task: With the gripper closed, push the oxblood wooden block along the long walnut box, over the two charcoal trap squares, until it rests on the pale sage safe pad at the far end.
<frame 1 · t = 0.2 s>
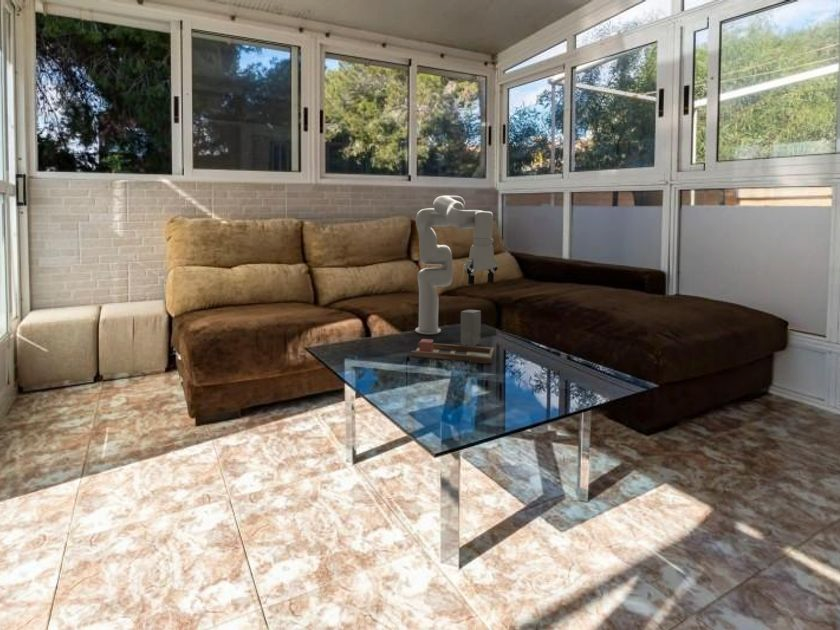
hand: (480, 283, 230), 31 cm above the table, tool pointing down, fingers open, 9 cm apart
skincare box: (469, 345, 254), on the table
trap box: (451, 355, 237), on the table
oxblood block: (426, 352, 239), point 1 cm above the table, touching trap box
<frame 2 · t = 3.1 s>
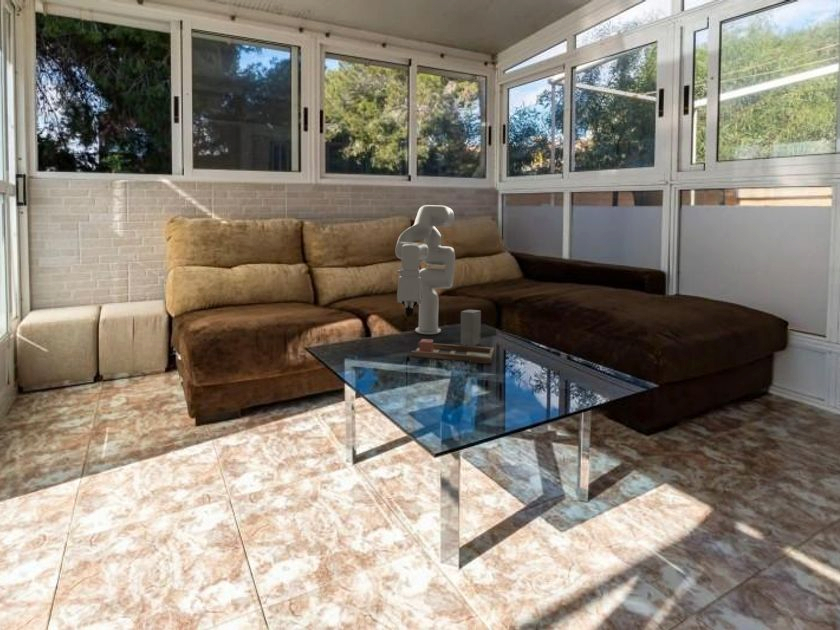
hand: (409, 316, 236), 16 cm above the table, tool pointing down, fingers closed
nothing on the table moved.
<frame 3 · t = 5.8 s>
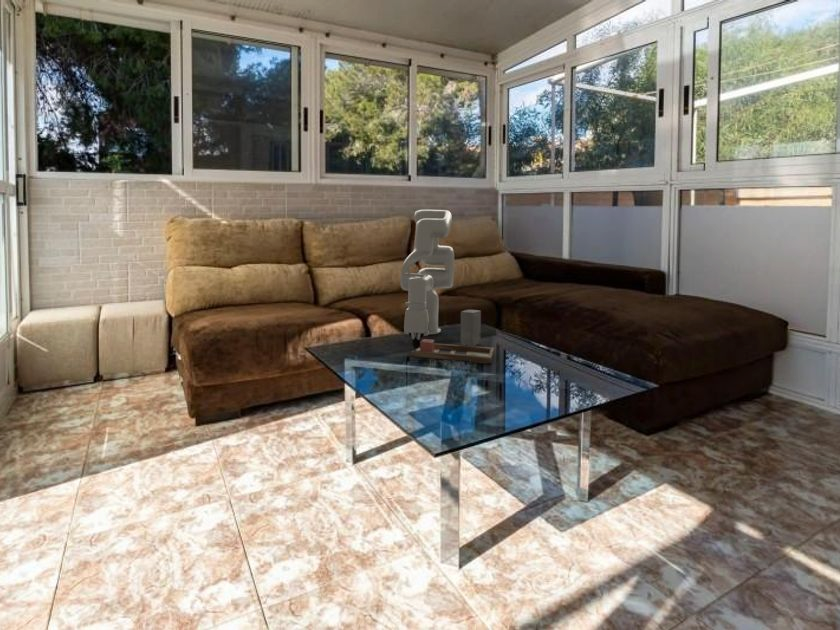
hand: (416, 347, 239), 2 cm above the table, tool pointing down, fingers closed
oxblood block: (427, 352, 238), point 1 cm above the table, touching gripper, trap box
everything else where it was.
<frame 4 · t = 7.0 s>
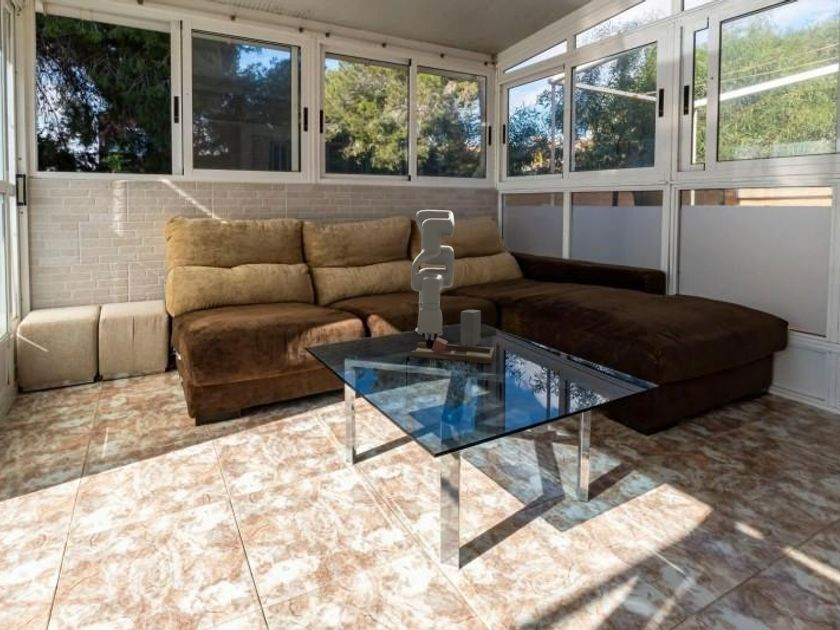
hand: (429, 348, 237), 3 cm above the table, tool pointing down, fingers closed
oxblood block: (437, 351, 237), point 1 cm above the table, tilted 19°, touching gripper
everything else where it was.
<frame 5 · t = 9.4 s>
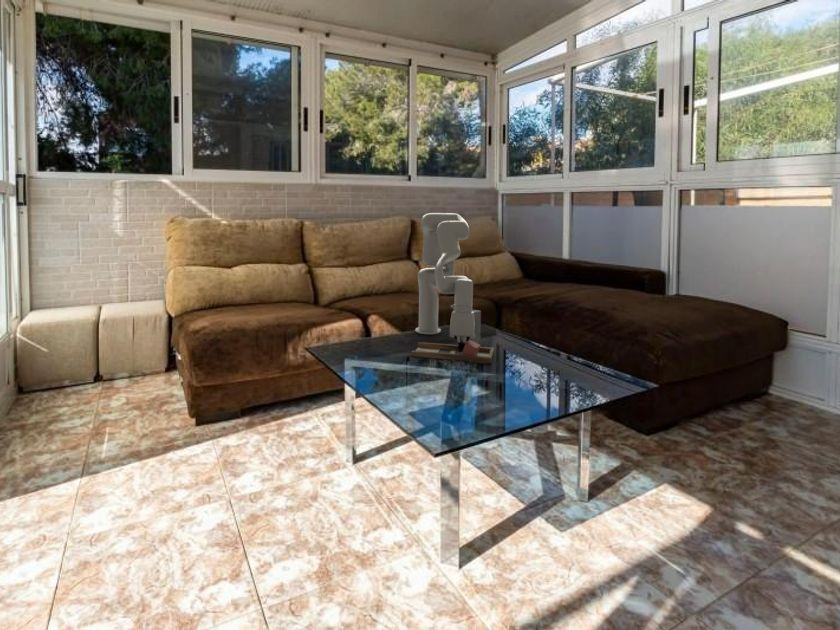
hand: (461, 350, 235), 2 cm above the table, tool pointing down, fingers closed
oxblood block: (469, 354, 233), point 1 cm above the table, tilted 19°, touching gripper
everything else where it was.
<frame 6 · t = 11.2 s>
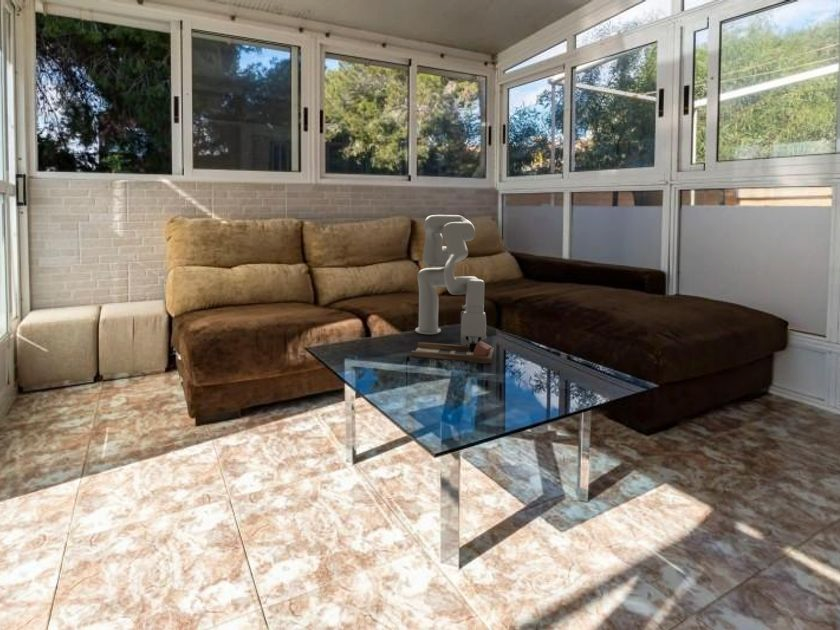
hand: (473, 351, 234), 2 cm above the table, tool pointing down, fingers closed
oxblood block: (480, 355, 232), point 1 cm above the table, tilted 19°, touching gripper, trap box
everything else where it was.
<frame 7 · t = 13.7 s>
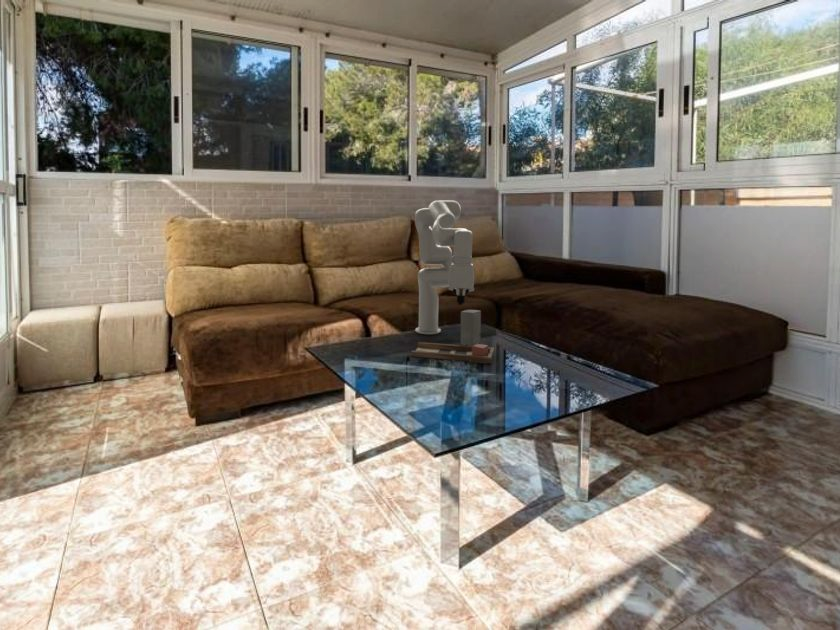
hand: (460, 304, 232), 22 cm above the table, tool pointing down, fingers closed
oxblood block: (479, 357, 232), point 1 cm above the table, touching trap box
everything else where it was.
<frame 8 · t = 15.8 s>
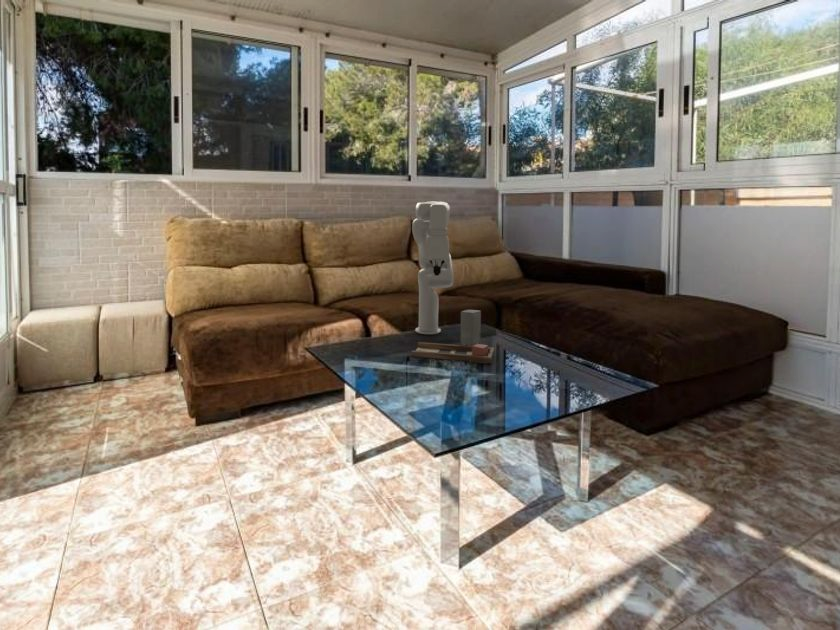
hand: (436, 275, 244), 32 cm above the table, tool pointing down, fingers closed
nothing on the table moved.
at the end: oxblood block 1.7 cm from the target spot on the trap box, point 0.6 cm above the trap box's base; oxblood block tilted 0°; the gripper is holding nothing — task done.
